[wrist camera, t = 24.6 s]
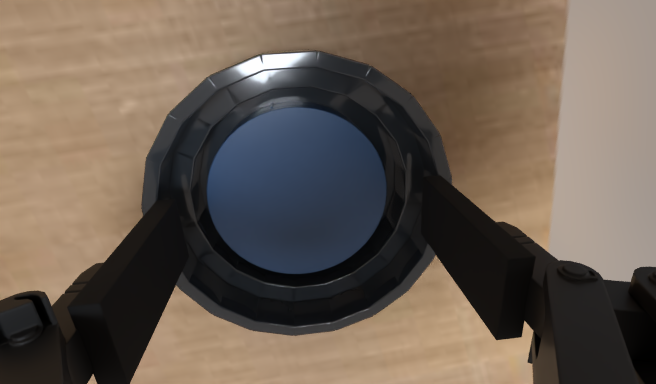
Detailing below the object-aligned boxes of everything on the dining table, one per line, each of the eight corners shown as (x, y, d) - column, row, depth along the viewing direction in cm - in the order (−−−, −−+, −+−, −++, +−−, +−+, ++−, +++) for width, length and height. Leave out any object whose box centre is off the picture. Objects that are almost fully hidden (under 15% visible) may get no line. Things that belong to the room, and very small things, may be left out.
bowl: (422, 42, 18) (462, 40, 14) (414, 269, 23) (442, 317, 19) (146, 59, 17) (101, 63, 13) (199, 293, 22) (179, 350, 18)
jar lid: (185, 126, 18) (175, 135, 16) (358, 78, 18) (366, 81, 16) (246, 272, 21) (243, 293, 19) (391, 231, 21) (401, 248, 20)
